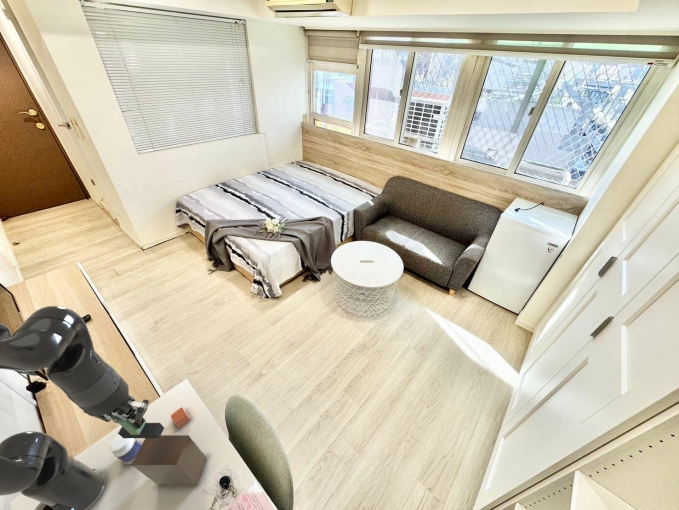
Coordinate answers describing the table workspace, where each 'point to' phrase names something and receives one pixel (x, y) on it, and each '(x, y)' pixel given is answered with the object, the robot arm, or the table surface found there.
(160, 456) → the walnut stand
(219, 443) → the table surface
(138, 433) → the wiper
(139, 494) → the table surface
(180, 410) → the orange red cube
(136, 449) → the pill bottle
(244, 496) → the table surface
